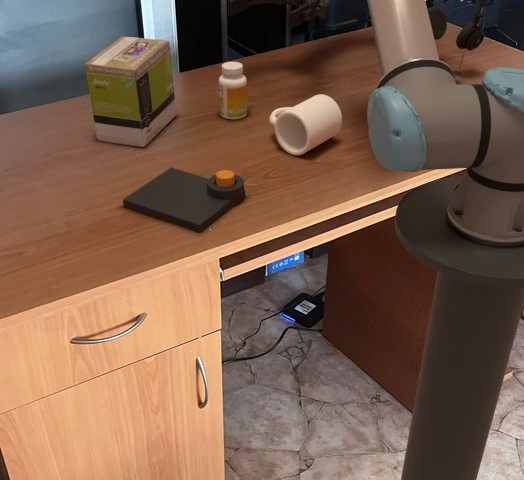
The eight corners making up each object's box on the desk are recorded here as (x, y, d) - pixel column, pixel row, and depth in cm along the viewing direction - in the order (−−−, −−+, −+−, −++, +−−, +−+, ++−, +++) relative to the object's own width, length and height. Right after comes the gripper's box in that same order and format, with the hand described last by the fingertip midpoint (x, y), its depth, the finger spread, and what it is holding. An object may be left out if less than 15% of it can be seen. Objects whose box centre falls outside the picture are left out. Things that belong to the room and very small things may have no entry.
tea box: (131, 109, 156) (122, 33, 146) (177, 116, 153) (172, 39, 144) (95, 141, 145) (83, 61, 135) (144, 149, 143) (136, 68, 133)
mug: (341, 142, 145) (344, 100, 140) (309, 161, 139) (311, 118, 134) (289, 124, 151) (290, 83, 146) (256, 142, 145) (256, 100, 140)
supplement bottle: (252, 113, 155) (252, 63, 149) (236, 122, 151) (235, 72, 145) (230, 106, 157) (229, 58, 151) (214, 116, 154) (212, 66, 147)
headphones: (394, 68, 173) (405, -29, 160) (428, 57, 179) (441, -39, 166) (448, 89, 164) (464, -13, 151) (482, 76, 170) (500, -23, 157)
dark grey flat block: (250, 195, 130) (250, 179, 128) (202, 233, 120) (201, 216, 119) (174, 172, 136) (173, 156, 134) (123, 207, 127) (121, 190, 125)
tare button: (238, 182, 128) (238, 172, 126) (228, 190, 126) (227, 180, 124) (222, 177, 129) (222, 168, 128) (212, 185, 127) (212, 175, 126)
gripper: (365, 15, 161) (315, 46, 148) (261, -4, 171) (206, 23, 157) (368, -24, 157) (317, 4, 143) (261, -42, 166) (204, -17, 153)
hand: (259, 14), depth 150 cm, fingers open, 13 cm apart
